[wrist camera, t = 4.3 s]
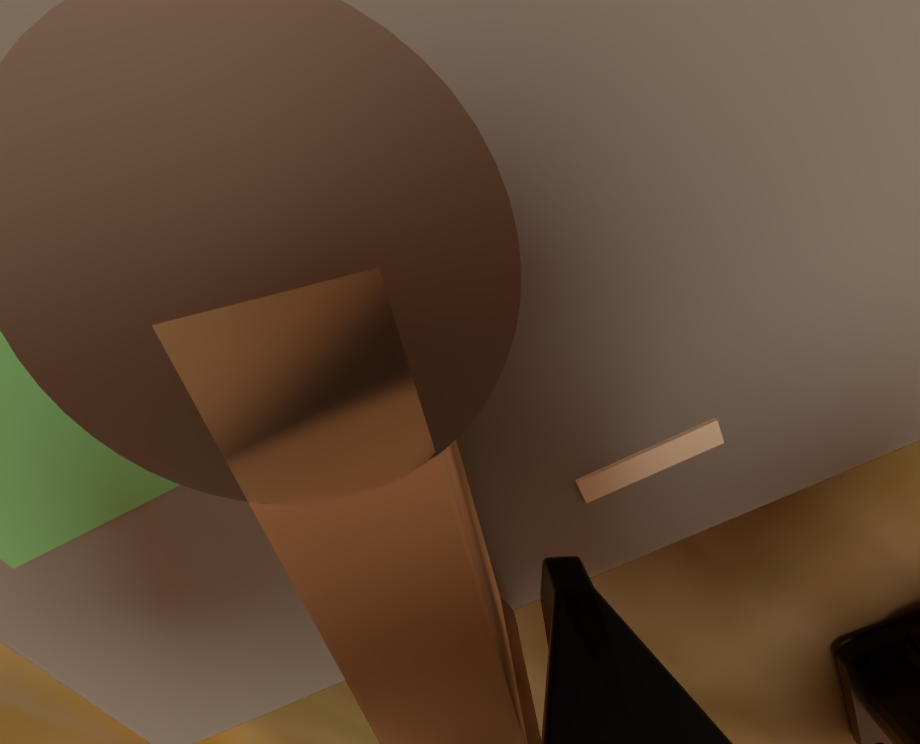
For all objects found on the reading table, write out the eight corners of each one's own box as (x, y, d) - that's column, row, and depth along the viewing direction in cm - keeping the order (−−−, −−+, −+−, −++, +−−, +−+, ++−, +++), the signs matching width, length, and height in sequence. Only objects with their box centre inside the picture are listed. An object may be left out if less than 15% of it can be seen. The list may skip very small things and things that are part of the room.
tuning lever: (103, 116, 6) (-467, 4, 2) (439, 28, 6) (473, -256, 2) (382, 682, 10) (361, 953, 7) (565, 640, 10) (644, 890, 7)
